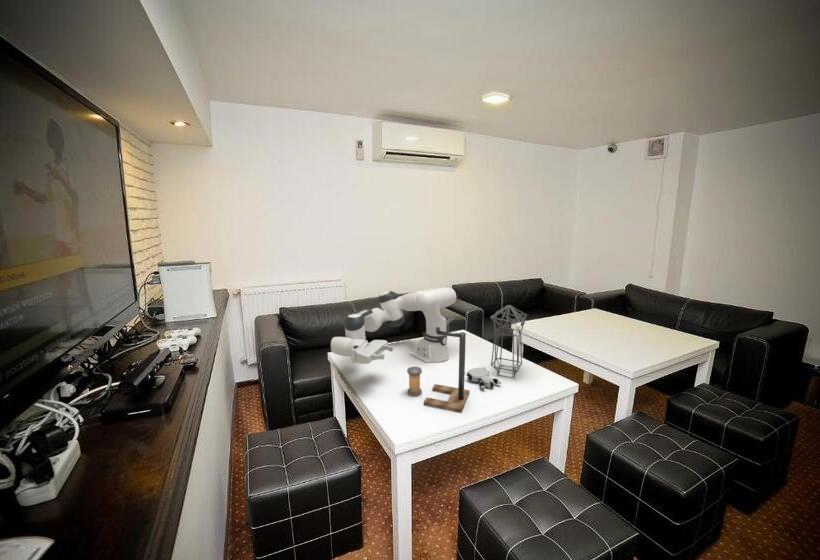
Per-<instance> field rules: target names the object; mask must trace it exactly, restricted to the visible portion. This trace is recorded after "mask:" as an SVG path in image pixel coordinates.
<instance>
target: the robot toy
mask: <svg viewBox="0 0 820 560" xmlns="http://www.w3.org/2000/svg"><path fill="white" fill-rule="evenodd" d="M465 376H466V377H467V379H468V380H469V381H471V382H474V383H479V387H480V388H481V389H485V388H489V389H490V388H493V387H494V384H495V385H501V384H502V381H500V380H499V379H498V378H493V377H491V376H490V371H489V370H487V368H486V367H485V366H483V367H473V368H471V369H468V370H467V372H465Z"/></svg>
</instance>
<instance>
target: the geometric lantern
mask: <svg viewBox="0 0 820 560" xmlns="http://www.w3.org/2000/svg"><path fill="white" fill-rule="evenodd" d="M511 313H513V314H511ZM500 314H501V315H502V317H501V318H497V317H498V316H499V315H500ZM511 316H513V317H514V319H513V318H511ZM527 316H528V314H527V313H525V312H523V311H521V310H519V309H517V308H516V307H514V306H513V305H511V304H509V305H508V304H507V305H505V306H504V307H501V308H500V309H498V310H496V311H495V313H494V314H492V315H491V316H490V317H489V318H490V319H491V320H492V322H493V324H494V325H493V327H494V335H493V343H492V353H491V361H490V366H491V367H493V369H495V371H496V374H497V376H499V377H504V378H509V377H510V379H513V378H516V377H515V376H516V374H517V372H518V371H519V370H520V369H521V366H522V365H523V351H522V350H523V349H522V347H523V345H522V343H523V342H522V332H523V328H524V325H525V324H526V323H525V322H526V319H527ZM504 317H505V318H506V319H504ZM499 321H500V322H501V323H500V322H499ZM504 321H505V323H504V324H503V322H504ZM508 323H510V324H508ZM518 323H520V325H519V327H518V325H517V324H518ZM496 324H497V326H498V328H496ZM512 325H515V326H516V328H512V327H510V326H512ZM520 328H521V329H520ZM504 329H507V330H509V331H510V333H511V334H512V335H511V334H507V333H506V334H505V333H504ZM513 330H514V331H516V333H514V332H513ZM500 332H501V333H500ZM517 334H518V335H517ZM500 335H501V340H500ZM504 336H507V337H512V359H509V358H508V359H507V358H502V354H503V353H502V352H503V342H504V341H503V339H504ZM515 337H516V360H515ZM499 341H501V344H500V343H499ZM499 344H500V353H498V350H499ZM498 354H500V357H499V358H498ZM519 358H520V359H519ZM498 360H500V361H498ZM502 360H505V361H510V362H512V366H511V365H504V364H501V363H502ZM519 360H520V361H519ZM496 362H497V363H498V366H496ZM503 367H506V368H503ZM507 367H509V368H512V369H509V368H507ZM503 370H504V371H503ZM499 373H504V374H505V373H506V374H511V376H508V375H502V374H499Z"/></svg>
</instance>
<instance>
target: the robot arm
mask: <svg viewBox="0 0 820 560" xmlns="http://www.w3.org/2000/svg"><path fill="white" fill-rule="evenodd" d="M456 301H457V293H456V290H454V288H452V287H445V286H443V287H437V288H431V289H425V290H419V291H412V292H408V293H405V294H403V295H400V296H399V293H397V292H395V291H391V290H385V291H383V292H382V293H381V294H379V295H378V302H379V305H380V307H381V308H380V307H373V308H372V309H362V310H359V311H358V312H356V313H353V314H349V315H346V317H345V319H344V320H343V325H344V331H345V336H334V337H332V338H331V340H330V350H331V353H332V354H335V355H338V356H341V357H351V363H353V364H356V363H357V364H363V365H367V364H370V363H371V362H373V361H376V360H378V361H379V360H384V359H385V358H386V357H385V354H383V352H384V351H388V352H393V351H394V347H393V346H390V345H389V342H388V341H387V340H385V339H373V340H372V341H370V342H369V341H368V340H367V339H366V332H368V333H369V332H370V333H374V332H377V331H378V330H379V329H380V327H382V324H384V325H386V326H389V327H393V328H394V327H399V326H401V325H402V324H403V323H404V322H405V318H406V317H405V314H404V312H403V310H404V311H408V312H409V311H410V312H417V311H419V312H420V311H421V312H422V313H423V314H424V318H425V327H426V330H425V331H424V332H422V336H423V337H422V338H421V339H419V340H418V341H416V342H415V345H414V347H413V349H412V350H410V353H409V355H410V356H413V357H414V358H417V359H418V360H420V361H421V362H422V361H423V362H425V363H440V362H441V363H442V362H446V361H448V360H449V357H450V356H449V351H448V344H447V342H448V336H445V335H438V334H436V327H440V331H444V332H447V325H448V324H447V319H446V317H445V316H444V315H442V314H441V309H444V308H448V307H449V306H452V305H453V304H455V302H456Z"/></svg>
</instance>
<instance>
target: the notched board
mask: <svg viewBox="0 0 820 560" xmlns="http://www.w3.org/2000/svg"><path fill="white" fill-rule="evenodd" d="M431 389H432V392H435V391H436V393H442V394H447V395H450V396H449V398H448V399H447V400H441V399H437V398H432V397H428V396H426V398H425V399H424V400H423V405H424V406H425V407H432V408H435V409H441V410H446V411H451V412H456V413H460V414H462V413H463V410H464V408H465V405H466V403H467V401H468V398H469V396H470V390H469V389H465V388H464V399H463V400H459V399H458V387H453V386H447V385H443V384H437V383H434V384H433V386H432V388H431Z"/></svg>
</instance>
